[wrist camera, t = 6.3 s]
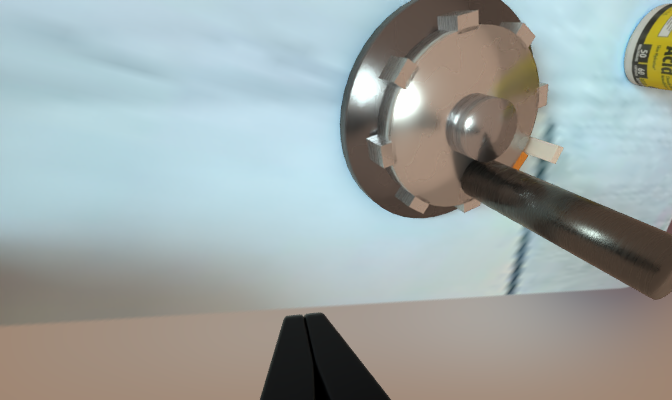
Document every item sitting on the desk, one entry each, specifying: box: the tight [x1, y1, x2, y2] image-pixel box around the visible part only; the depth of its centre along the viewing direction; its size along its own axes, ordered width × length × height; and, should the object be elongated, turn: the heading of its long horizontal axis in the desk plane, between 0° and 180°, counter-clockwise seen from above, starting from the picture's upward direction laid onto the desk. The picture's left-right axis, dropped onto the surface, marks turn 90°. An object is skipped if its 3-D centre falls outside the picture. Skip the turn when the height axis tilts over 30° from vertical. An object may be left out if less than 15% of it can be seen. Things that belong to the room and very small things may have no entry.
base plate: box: [340, 0, 563, 218], centre depth 21 cm, size 13×13×4 cm
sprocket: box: [366, 10, 672, 300], centre depth 17 cm, size 11×11×12 cm
